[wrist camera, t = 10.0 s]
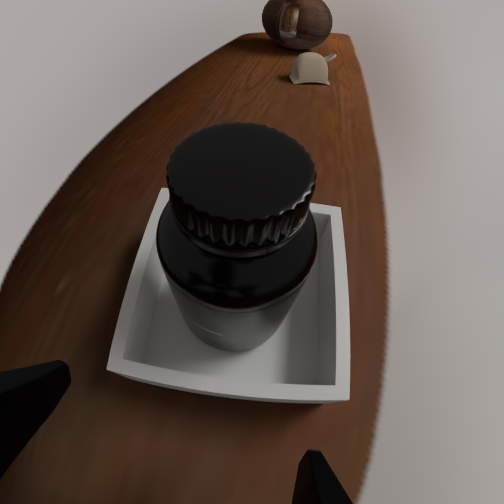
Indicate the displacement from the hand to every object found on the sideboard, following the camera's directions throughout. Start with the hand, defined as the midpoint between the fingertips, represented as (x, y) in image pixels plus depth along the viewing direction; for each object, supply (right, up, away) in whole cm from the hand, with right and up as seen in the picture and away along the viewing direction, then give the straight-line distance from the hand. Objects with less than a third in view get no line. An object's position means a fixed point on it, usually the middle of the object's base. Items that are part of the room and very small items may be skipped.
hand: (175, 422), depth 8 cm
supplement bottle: (+1, +2, +11) cm, 11 cm away
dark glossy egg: (+12, +51, +43) cm, 68 cm away
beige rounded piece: (+12, +34, +33) cm, 49 cm away
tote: (+2, +2, +12) cm, 12 cm away
